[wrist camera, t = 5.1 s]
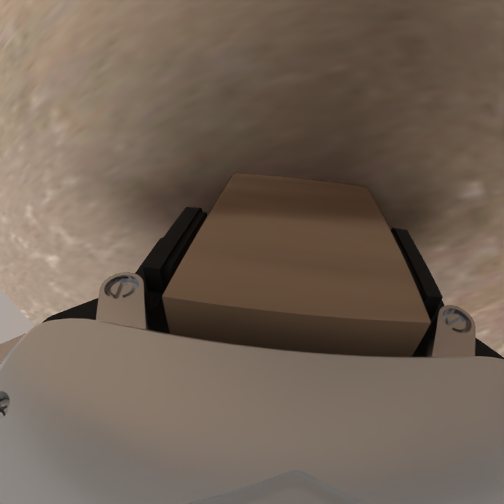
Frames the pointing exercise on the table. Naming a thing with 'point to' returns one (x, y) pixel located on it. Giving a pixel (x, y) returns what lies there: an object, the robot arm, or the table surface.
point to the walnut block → (297, 272)
